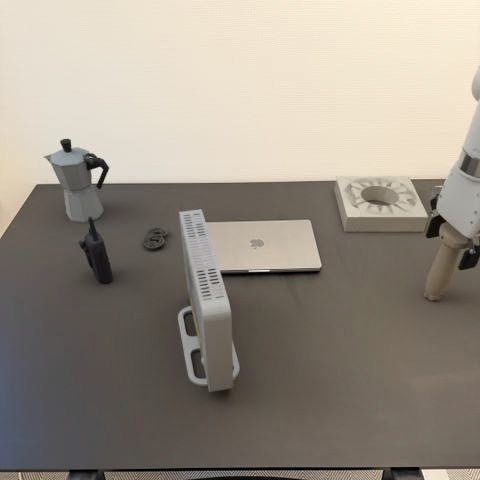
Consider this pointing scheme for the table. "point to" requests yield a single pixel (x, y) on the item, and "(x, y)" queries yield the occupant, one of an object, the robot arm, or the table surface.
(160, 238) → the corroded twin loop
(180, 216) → the network device
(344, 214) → the square block with hole
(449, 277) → the handle
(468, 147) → the robot arm
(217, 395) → the table surface
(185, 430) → the table surface
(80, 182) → the coffee maker
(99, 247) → the two-way radio
